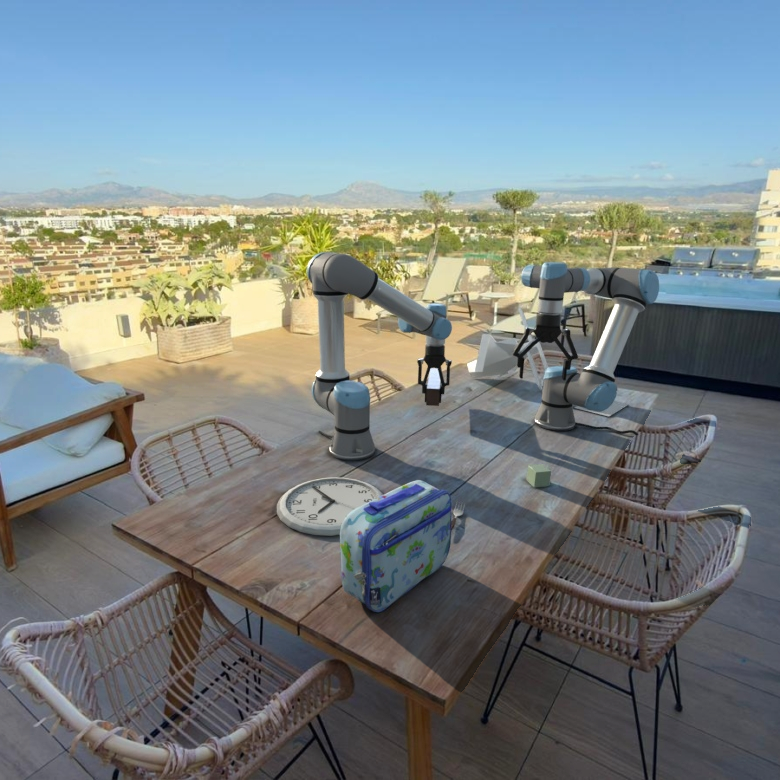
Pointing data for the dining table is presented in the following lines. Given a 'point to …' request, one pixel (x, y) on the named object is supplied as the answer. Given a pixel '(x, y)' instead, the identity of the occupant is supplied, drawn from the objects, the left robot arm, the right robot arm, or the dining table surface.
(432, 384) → the walnut block
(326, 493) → the wall clock
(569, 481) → the dining table surface
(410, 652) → the dining table surface
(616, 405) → the invitation card
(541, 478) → the sage block
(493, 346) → the white plastic object
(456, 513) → the fork
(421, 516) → the lunch box
